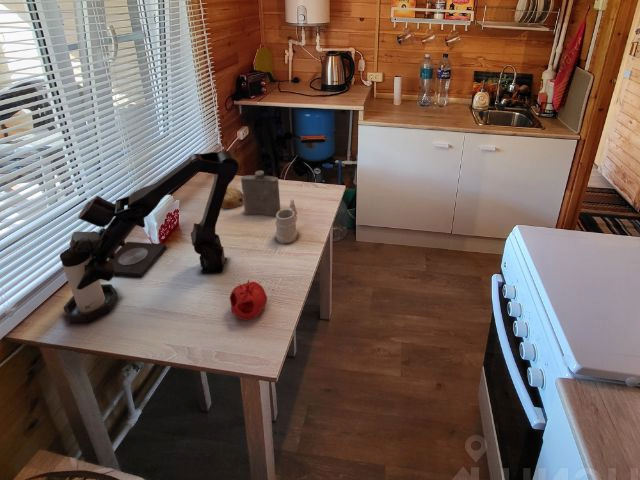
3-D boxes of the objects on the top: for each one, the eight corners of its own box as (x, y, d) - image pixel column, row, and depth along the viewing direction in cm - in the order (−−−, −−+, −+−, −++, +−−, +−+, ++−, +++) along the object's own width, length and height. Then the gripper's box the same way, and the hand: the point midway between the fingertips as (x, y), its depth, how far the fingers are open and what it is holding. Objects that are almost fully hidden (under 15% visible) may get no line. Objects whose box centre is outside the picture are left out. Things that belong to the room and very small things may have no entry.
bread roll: (235, 217, 154) (241, 201, 151) (210, 207, 152) (217, 191, 150) (242, 203, 163) (248, 189, 160) (219, 194, 161) (225, 179, 159)
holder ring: (125, 290, 112) (123, 283, 111) (102, 323, 101) (100, 316, 100) (84, 291, 111) (82, 285, 111) (57, 324, 101) (54, 317, 100)
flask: (247, 209, 153) (242, 169, 146) (282, 211, 152) (279, 170, 145) (243, 214, 149) (239, 173, 143) (279, 216, 148) (276, 175, 142)
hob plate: (166, 247, 130) (165, 243, 130) (141, 277, 117) (140, 272, 117) (128, 245, 131) (126, 241, 131) (98, 274, 118) (97, 269, 118)
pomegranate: (249, 291, 112) (246, 265, 109) (275, 304, 108) (272, 278, 104) (222, 314, 104) (218, 287, 101) (249, 330, 100) (245, 303, 96)
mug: (272, 241, 134) (269, 212, 129) (286, 222, 144) (284, 195, 140) (292, 245, 132) (290, 216, 127) (305, 226, 142) (304, 198, 138)
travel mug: (93, 317, 103) (73, 258, 96) (73, 313, 104) (52, 254, 97) (112, 299, 109) (94, 242, 101) (92, 295, 110) (73, 239, 102)
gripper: (85, 206, 106) (46, 253, 104) (87, 240, 92) (43, 296, 90) (123, 220, 113) (88, 265, 111) (131, 254, 99) (91, 306, 97)
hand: (78, 281), depth 102 cm, fingers closed on travel mug, 6 cm apart
